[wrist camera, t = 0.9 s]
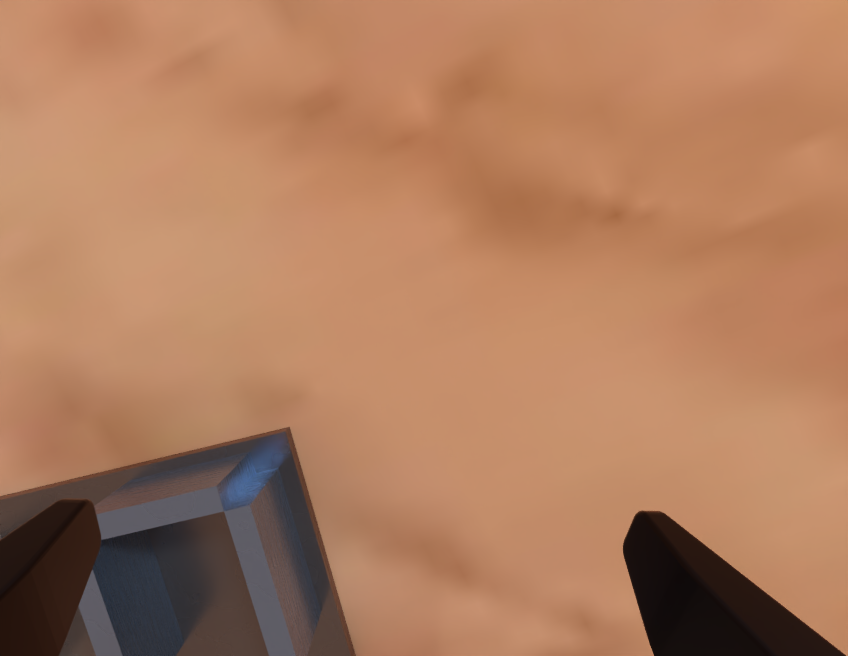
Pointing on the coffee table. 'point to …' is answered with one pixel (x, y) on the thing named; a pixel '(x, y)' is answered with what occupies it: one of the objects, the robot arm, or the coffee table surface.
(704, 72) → the coffee table surface
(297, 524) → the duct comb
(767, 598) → the robot arm
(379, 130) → the coffee table surface
